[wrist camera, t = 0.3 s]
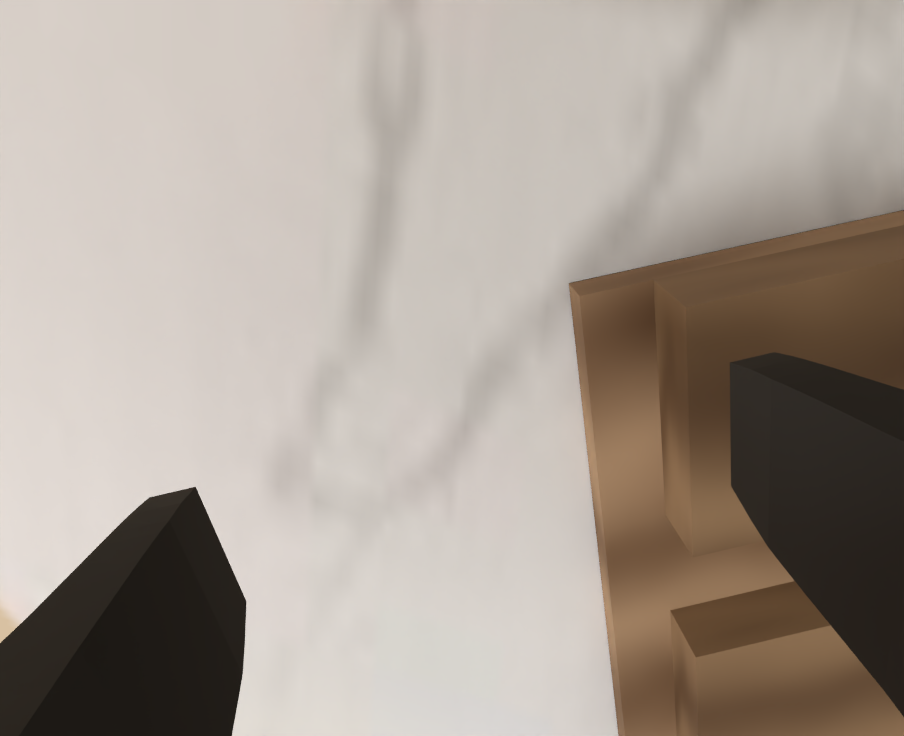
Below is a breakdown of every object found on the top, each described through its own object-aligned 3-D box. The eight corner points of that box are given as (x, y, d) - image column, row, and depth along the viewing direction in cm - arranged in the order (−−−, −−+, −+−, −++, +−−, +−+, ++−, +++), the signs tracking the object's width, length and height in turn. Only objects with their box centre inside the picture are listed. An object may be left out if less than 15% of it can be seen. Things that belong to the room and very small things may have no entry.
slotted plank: (903, 674, 29) (959, 741, 26) (619, 743, 28) (647, 818, 26) (984, 192, 20) (1084, 218, 17) (568, 283, 19) (604, 325, 17)
